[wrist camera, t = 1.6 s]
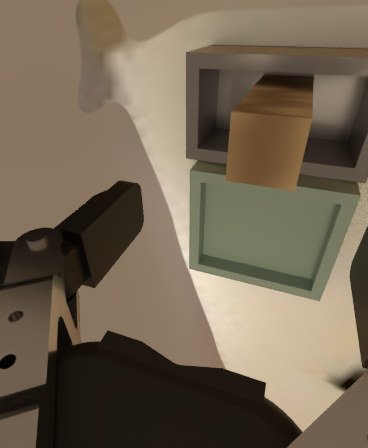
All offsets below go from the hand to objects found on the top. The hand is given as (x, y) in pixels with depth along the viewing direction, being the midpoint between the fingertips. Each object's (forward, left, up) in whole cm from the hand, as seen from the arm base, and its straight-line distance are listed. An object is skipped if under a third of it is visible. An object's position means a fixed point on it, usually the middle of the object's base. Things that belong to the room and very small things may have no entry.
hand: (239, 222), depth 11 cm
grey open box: (0, 0, -21) cm, 21 cm away
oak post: (0, 0, -20) cm, 20 cm away
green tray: (0, +14, -21) cm, 25 cm away
